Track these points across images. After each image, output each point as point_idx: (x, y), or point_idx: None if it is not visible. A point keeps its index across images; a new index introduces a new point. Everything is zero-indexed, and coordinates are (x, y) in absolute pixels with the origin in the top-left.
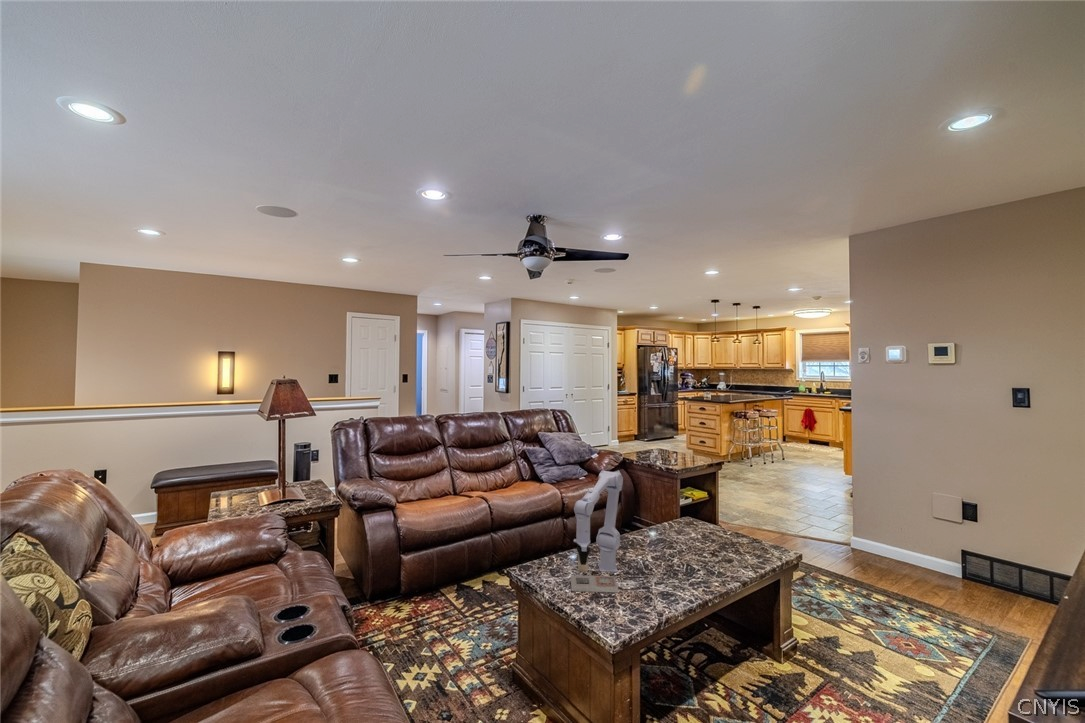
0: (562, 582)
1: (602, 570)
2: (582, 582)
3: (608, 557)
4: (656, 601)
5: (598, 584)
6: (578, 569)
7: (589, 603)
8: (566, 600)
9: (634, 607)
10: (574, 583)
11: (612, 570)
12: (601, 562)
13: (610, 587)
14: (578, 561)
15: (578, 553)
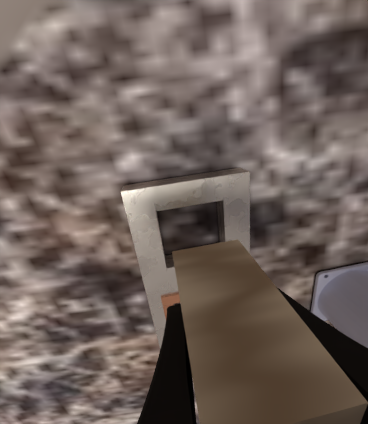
0: (212, 125)
1: (319, 282)
2: (218, 222)
3: (363, 345)
4: (136, 415)
5: (166, 302)
6: (173, 259)
7: (42, 269)
8: (21, 170)
9: (79, 384)
10: (156, 202)
11: (317, 310)
12: (357, 293)
13: (157, 337)
14: (181, 305)
15: (198, 405)
